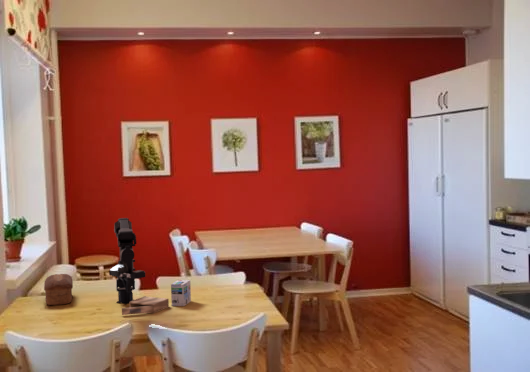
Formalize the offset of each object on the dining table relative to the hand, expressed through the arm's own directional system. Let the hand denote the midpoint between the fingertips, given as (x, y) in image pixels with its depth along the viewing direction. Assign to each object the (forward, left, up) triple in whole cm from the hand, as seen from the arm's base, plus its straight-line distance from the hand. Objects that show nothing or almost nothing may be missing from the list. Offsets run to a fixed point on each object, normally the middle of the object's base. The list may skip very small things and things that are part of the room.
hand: (127, 291), depth 279 cm
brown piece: (+3, +12, -11) cm, 16 cm away
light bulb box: (+12, +26, -11) cm, 30 cm away
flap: (+5, +1, -10) cm, 11 cm away
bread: (-52, +10, -11) cm, 54 cm away
